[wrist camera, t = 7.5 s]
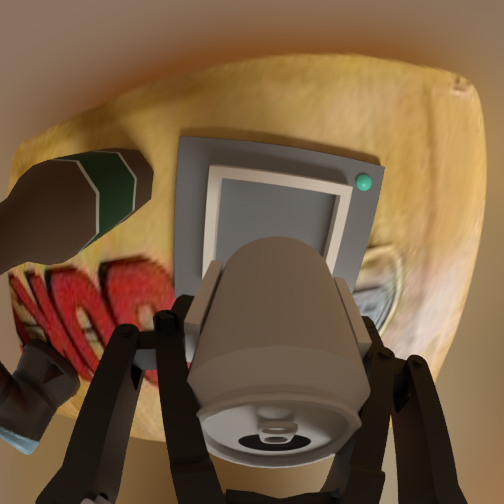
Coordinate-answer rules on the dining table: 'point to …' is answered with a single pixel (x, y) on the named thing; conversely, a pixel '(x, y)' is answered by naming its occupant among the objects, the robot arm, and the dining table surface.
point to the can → (277, 360)
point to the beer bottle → (70, 204)
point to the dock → (269, 204)
